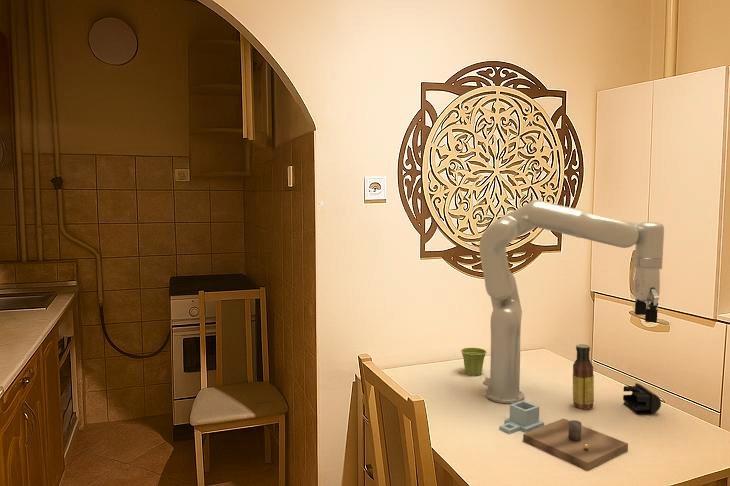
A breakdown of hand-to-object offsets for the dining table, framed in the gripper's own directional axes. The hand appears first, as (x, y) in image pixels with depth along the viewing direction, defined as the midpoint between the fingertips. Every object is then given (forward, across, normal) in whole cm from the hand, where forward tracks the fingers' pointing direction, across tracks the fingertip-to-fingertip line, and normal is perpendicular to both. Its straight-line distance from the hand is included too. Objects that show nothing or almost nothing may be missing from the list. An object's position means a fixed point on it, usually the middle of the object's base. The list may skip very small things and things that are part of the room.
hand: (645, 318), depth 172 cm
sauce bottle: (+30, -1, -17) cm, 34 cm away
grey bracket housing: (+30, +17, -39) cm, 52 cm away
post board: (+30, +28, -25) cm, 48 cm away
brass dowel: (+28, +34, -24) cm, 50 cm away
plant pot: (+30, -29, -51) cm, 66 cm away
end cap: (+30, -2, +1) cm, 30 cm away
